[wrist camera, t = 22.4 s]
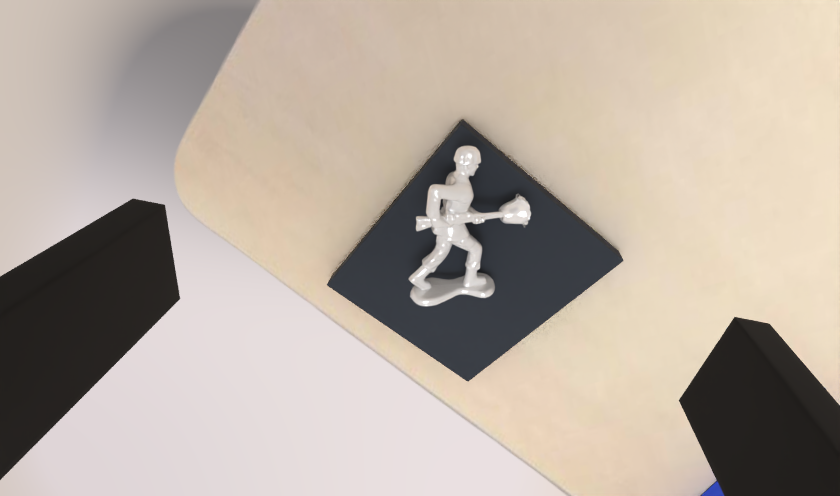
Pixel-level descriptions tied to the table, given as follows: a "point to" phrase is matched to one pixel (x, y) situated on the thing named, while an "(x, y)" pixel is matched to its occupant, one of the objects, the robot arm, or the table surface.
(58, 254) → the robot arm
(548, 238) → the display mat
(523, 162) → the table surface
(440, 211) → the figurine
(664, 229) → the table surface
